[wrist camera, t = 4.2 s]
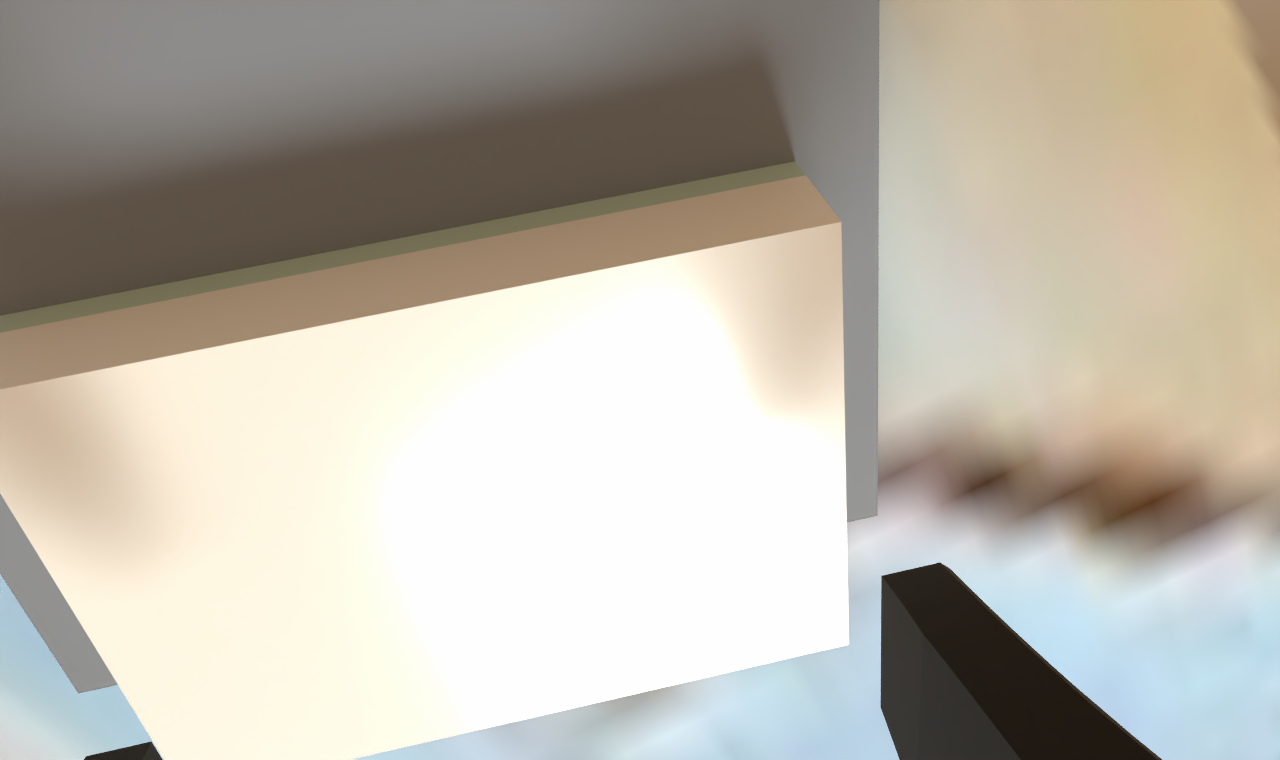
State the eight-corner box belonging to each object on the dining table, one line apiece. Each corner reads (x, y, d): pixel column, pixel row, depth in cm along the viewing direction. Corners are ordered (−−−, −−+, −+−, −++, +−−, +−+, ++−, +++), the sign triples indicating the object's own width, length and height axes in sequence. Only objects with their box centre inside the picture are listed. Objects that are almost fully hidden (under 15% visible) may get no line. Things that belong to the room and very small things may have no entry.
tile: (187, 797, 14) (-57, 401, 10) (205, 700, 16) (-7, 317, 12) (848, 644, 15) (841, 221, 11) (812, 564, 16) (796, 161, 12)
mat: (85, 671, 15) (77, 693, 15) (-372, -49, 10) (-400, -37, 9) (867, 497, 16) (877, 515, 16) (866, -253, 11) (879, -250, 10)
